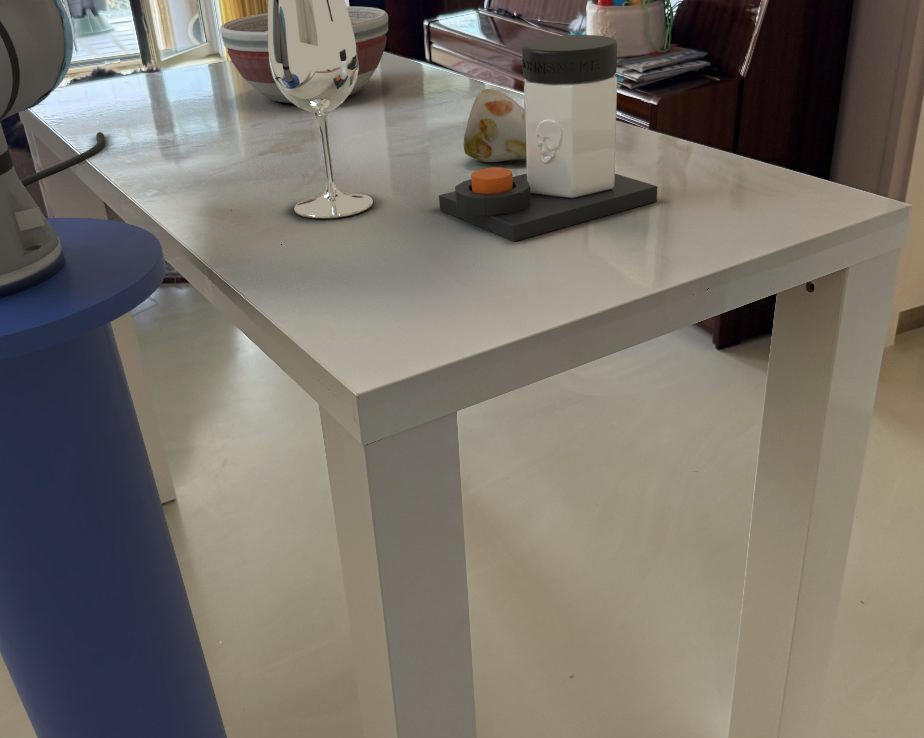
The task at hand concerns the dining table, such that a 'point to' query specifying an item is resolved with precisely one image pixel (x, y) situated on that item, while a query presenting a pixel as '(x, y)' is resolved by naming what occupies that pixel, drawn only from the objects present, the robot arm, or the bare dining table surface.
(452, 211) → the scale
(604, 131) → the jar
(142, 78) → the dining table surface
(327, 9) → the wineglass
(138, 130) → the dining table surface
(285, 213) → the dining table surface
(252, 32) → the bowl
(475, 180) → the button
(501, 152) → the fruit sandwich
